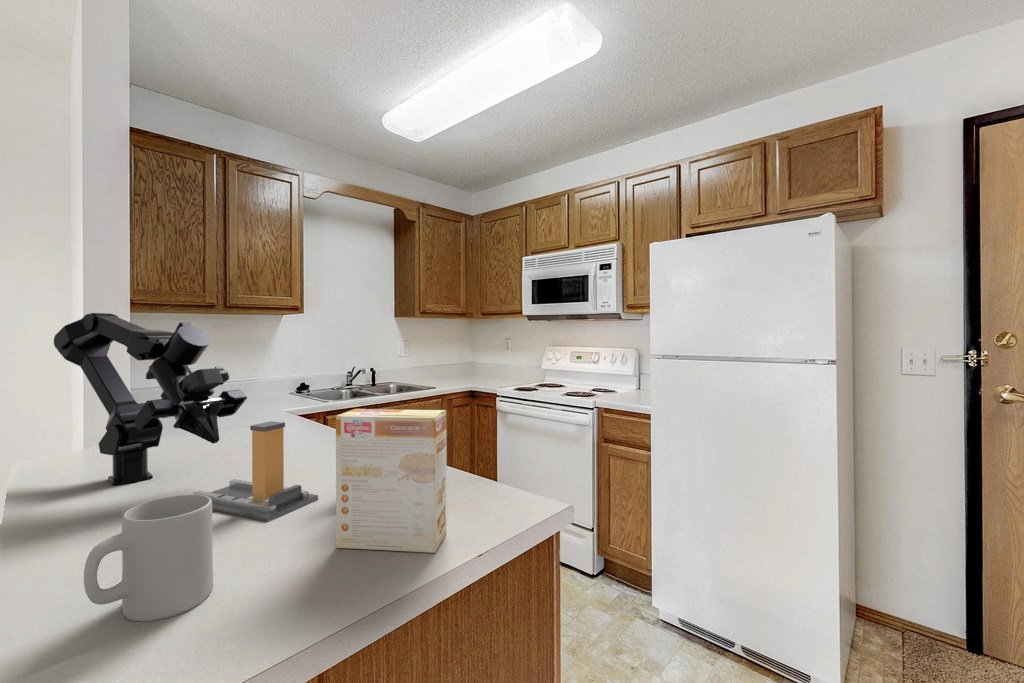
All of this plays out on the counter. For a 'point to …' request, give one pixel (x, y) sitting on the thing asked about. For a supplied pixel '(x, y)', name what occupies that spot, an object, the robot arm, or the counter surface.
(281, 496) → the plate
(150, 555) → the mug
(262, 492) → the fader tab
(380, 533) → the coffeecake box
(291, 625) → the counter surface
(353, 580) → the counter surface
